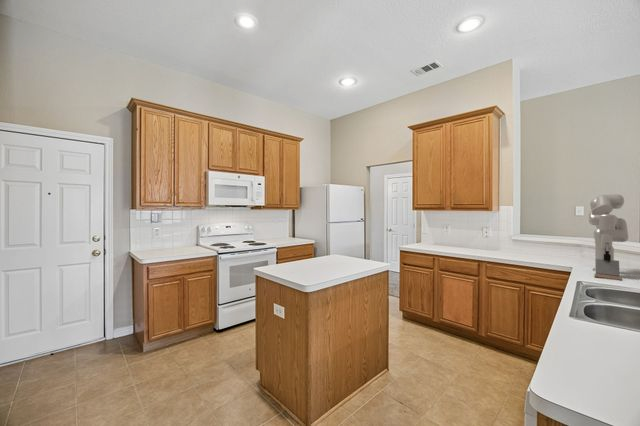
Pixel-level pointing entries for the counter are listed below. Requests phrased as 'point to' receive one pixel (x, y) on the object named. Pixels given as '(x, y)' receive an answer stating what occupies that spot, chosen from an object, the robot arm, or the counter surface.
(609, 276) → the hinge base
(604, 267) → the hinge leaf
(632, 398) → the counter surface
